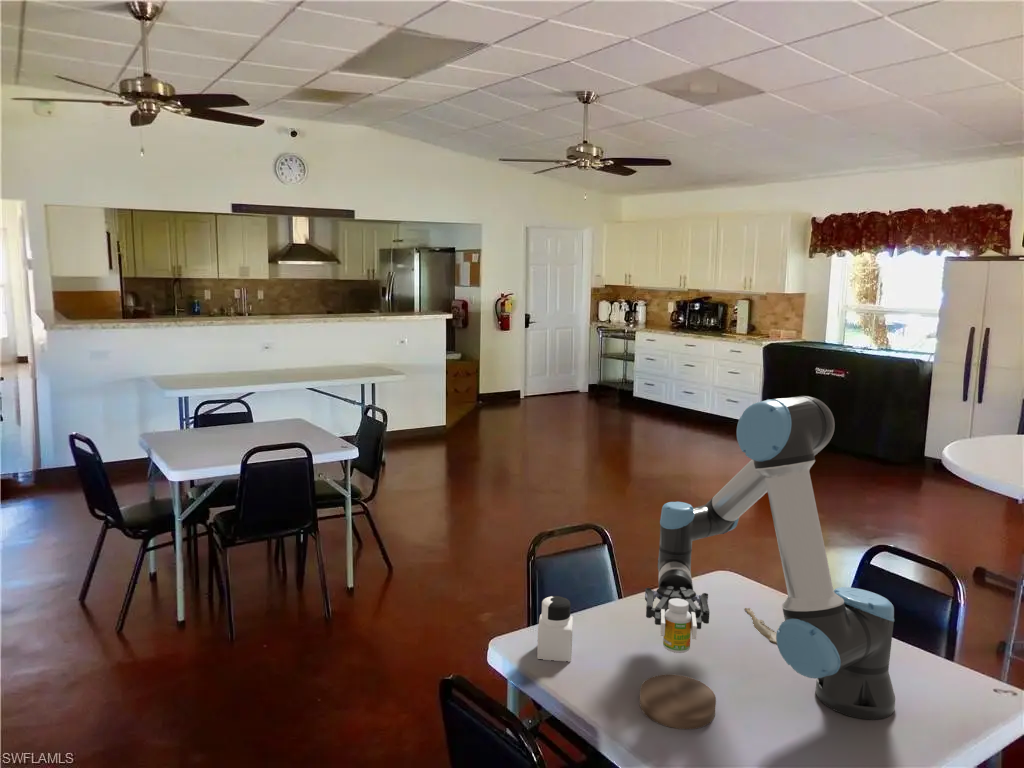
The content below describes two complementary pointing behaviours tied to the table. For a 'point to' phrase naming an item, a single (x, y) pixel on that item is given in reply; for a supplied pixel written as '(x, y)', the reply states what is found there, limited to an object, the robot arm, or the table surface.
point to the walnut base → (677, 701)
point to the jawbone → (762, 627)
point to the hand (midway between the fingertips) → (678, 631)
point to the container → (555, 630)
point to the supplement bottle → (677, 626)
